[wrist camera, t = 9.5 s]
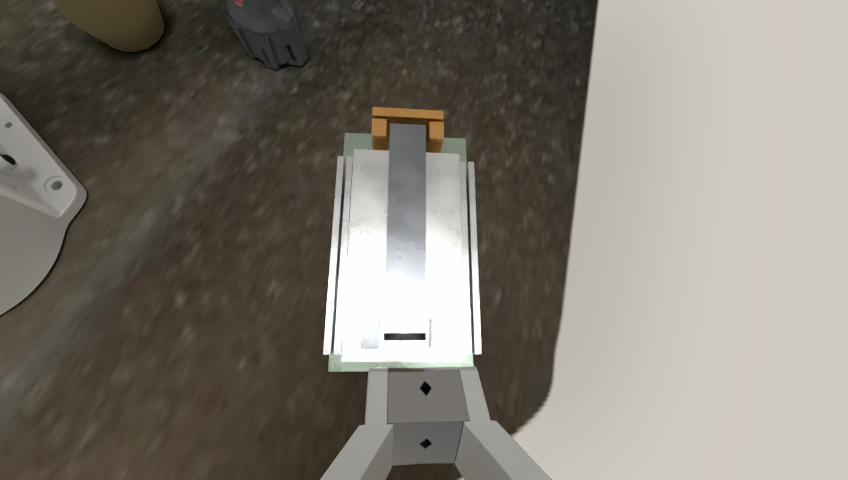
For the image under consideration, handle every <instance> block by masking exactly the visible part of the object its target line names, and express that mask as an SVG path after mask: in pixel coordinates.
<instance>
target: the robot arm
mask: <svg viewBox="0 0 848 480" xmlns="http://www.w3.org/2000/svg"><path fill="white" fill-rule="evenodd" d="M61 185H62V187H61V188H60V189H59V187H60V186H61ZM86 197H87V193H86V190H85V189H84V187H83V186H82V185H81V184H80V183H79V181H78V180H77V179H76V178H75V177H74V176H73V174H72V173H71V172H70V171H69V170H68V169H67V167H66V166H65V165H64V164H63V163H62V162H61V160H60V159H59V158H58V157H57V156H56V155H55V153H54V152H53V151H52V150H51V149H50V148H49V146H48V145H47V144H46V143H45V142H44V141H43V139H42V138H41V137H40V136H39V135H38V133H37V132H36V131H35V130H34V129H33V128H32V126H31V125H30V124H29V123H28V122H27V121H26V119H25V118H24V117H23V116H22V115H21V114H20V112H19V111H18V110H17V109H16V108H15V107H14V105H13V104H12V103H11V102H10V101H9V100H8V99H7V98H6V97H5V96H4V95H3V94H1V93H0V315H1V314H3V313H4V312H6V311H8V310H9V309H11V308H12V307H14V306H15V305H17V304H18V303H19V302H21V301H22V300H23V299H24V298H25V297H27V296H28V295H29V294H30V293H31V292H32V291H33V290H34V289H35V288H36V287H37V286H38V285H39V284H40V283H41V281H42V280H43V279H44V278H45V276H46V275H47V273H48V272H49V271H50V269H51V267H52V266H53V264H54V262H55V260H56V258H57V256H58V253H59V251H60V248H61V245H62V241H63V238H64V234H65V231H66V229H67V226H68V224H69V223H70V222H71V220H72V219H73V218H74V217H75V215H76V214H77V213H78V211H79V210H80V209H81V207H82V206H83V204H84V202H85V200H86ZM422 463H455V466H456V467H457V469H458V470H459V472H460V473H461V475H462V476H463V478H464V479H465V480H552V479H551V478H550V477H549V476H548V475H547V474H546V473H545V472H544V471H543V470H542V469H541V468H540V467H539V466H538V465H537V464H536V463H535V461H534V460H533V459H532V458H531V457H530V456H529V455H528V454H527V453H526V452H525V451H524V450H523V449H522V448H521V447H520V446H519V445H518V443H517V442H516V441H515V440H514V439H513V438H512V437H511V436H510V435H509V434H508V433H507V432H506V431H505V430H504V429H503V428H502V427H501V425H500V424H499V423H498V422H497V421H491V420H490V416H489V412H488V408H487V405H486V401H485V397H484V393H483V389H482V385H481V382H480V378H479V374H478V370H477V368H476V367H475V366H472V367H457V366H452V367H423V368H369V373H368V385H367V400H366V414H365V425H359V426H358V427H357V429H356V430H355V432H354V433H353V434H352V436H351V437H350V439H349V440H348V441H347V443H346V444H345V446H344V447H343V448H342V450H341V451H340V452H339V454H338V455H337V457H336V458H335V459H334V461H333V462H332V464H331V465H330V466H329V468H328V469H327V471H326V472H325V473H324V475H323V476H322V478H321V479H320V480H386V478H387V476H388V474H389V472H390V470H391V467H392V466H395V465H409V464H422Z"/></svg>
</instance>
